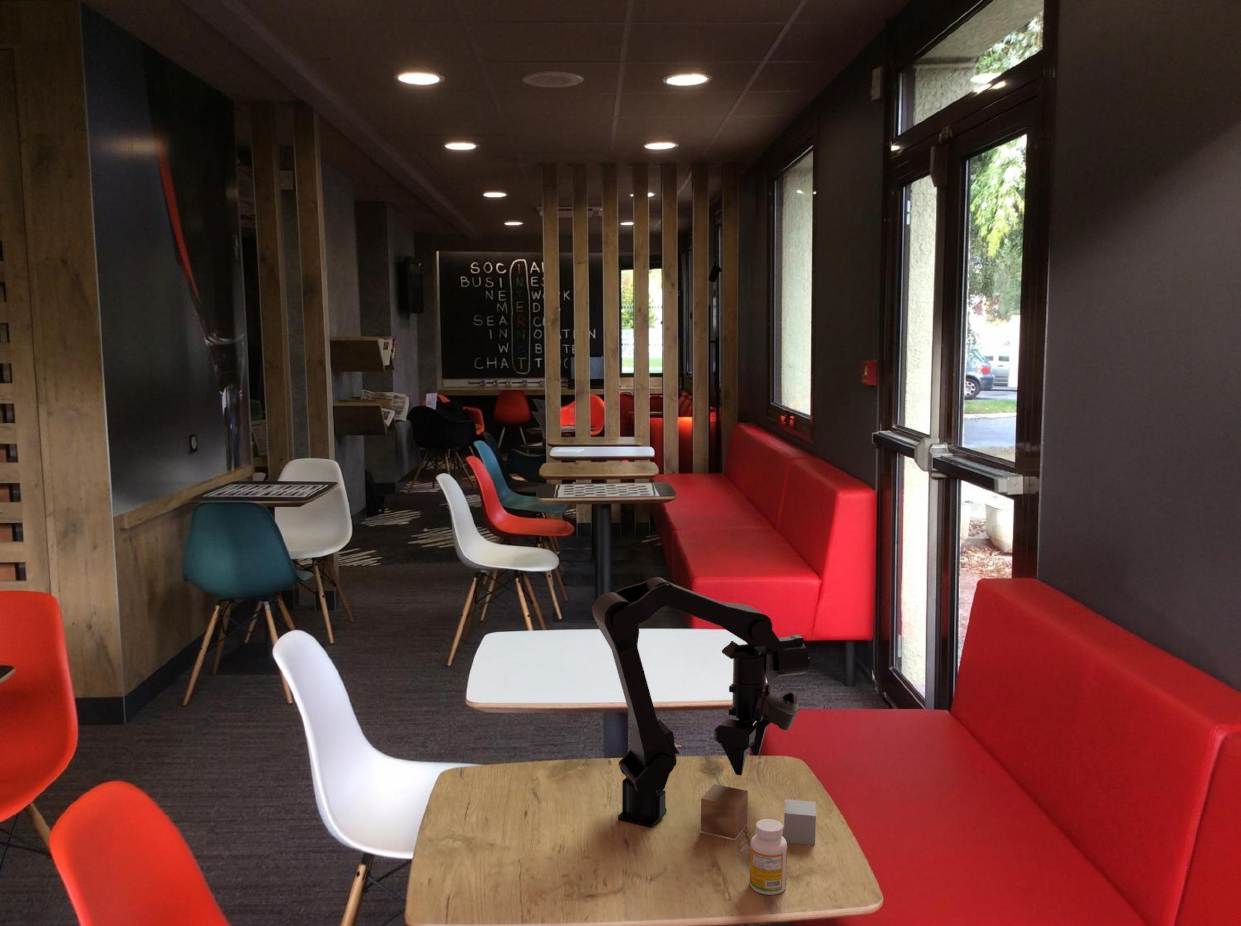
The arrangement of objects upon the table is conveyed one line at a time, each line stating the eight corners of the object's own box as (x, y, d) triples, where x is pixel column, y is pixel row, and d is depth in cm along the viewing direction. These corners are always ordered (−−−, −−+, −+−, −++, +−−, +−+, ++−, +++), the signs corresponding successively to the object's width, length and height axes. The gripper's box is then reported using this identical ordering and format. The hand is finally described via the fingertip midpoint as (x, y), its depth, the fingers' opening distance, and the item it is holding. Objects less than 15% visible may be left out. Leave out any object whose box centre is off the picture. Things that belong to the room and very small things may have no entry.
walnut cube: (700, 832, 172) (701, 798, 171) (713, 817, 177) (713, 783, 176) (735, 840, 169) (735, 805, 168) (747, 824, 174) (747, 790, 174)
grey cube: (783, 842, 169) (784, 812, 168) (784, 827, 173) (785, 799, 173) (814, 844, 168) (815, 815, 167) (815, 830, 173) (815, 801, 172)
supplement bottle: (761, 872, 159) (763, 812, 158) (792, 884, 156) (794, 823, 154) (742, 887, 155) (744, 825, 154) (774, 899, 152) (775, 837, 150)
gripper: (778, 704, 169) (776, 795, 171) (809, 669, 186) (806, 753, 188) (713, 693, 174) (712, 782, 176) (749, 660, 190) (747, 742, 192)
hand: (747, 764), depth 183 cm, fingers open, 9 cm apart
